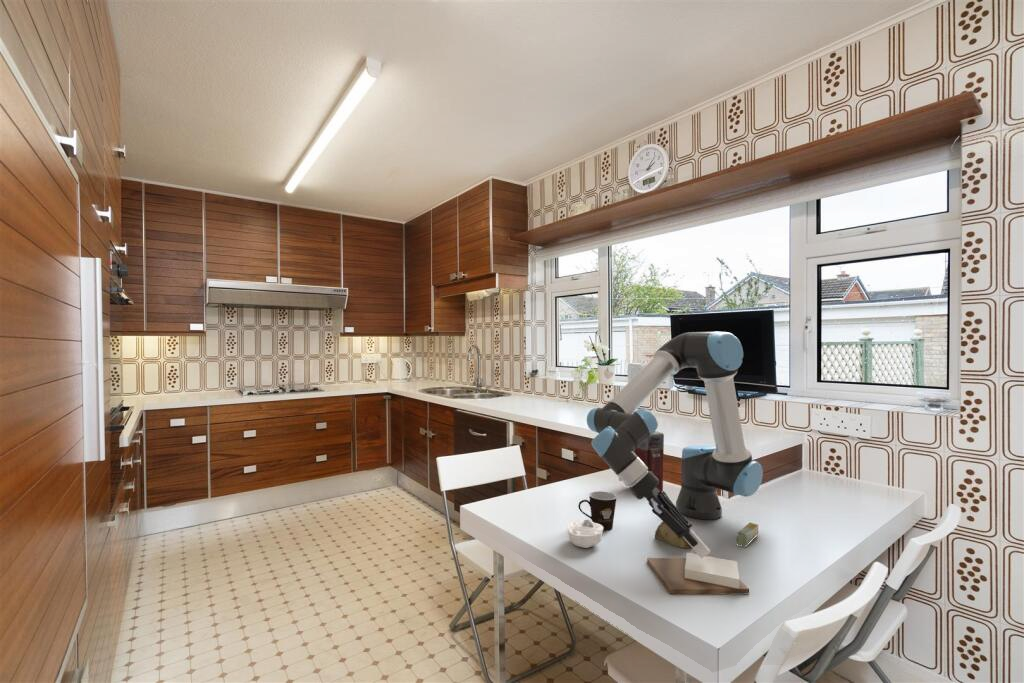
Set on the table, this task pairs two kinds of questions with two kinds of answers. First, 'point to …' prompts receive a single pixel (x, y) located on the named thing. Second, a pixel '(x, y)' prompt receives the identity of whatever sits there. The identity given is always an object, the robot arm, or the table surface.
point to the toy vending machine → (653, 455)
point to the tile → (712, 570)
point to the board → (676, 583)
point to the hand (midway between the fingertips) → (705, 554)
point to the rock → (670, 536)
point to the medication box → (747, 534)
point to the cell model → (585, 533)
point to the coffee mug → (601, 508)
